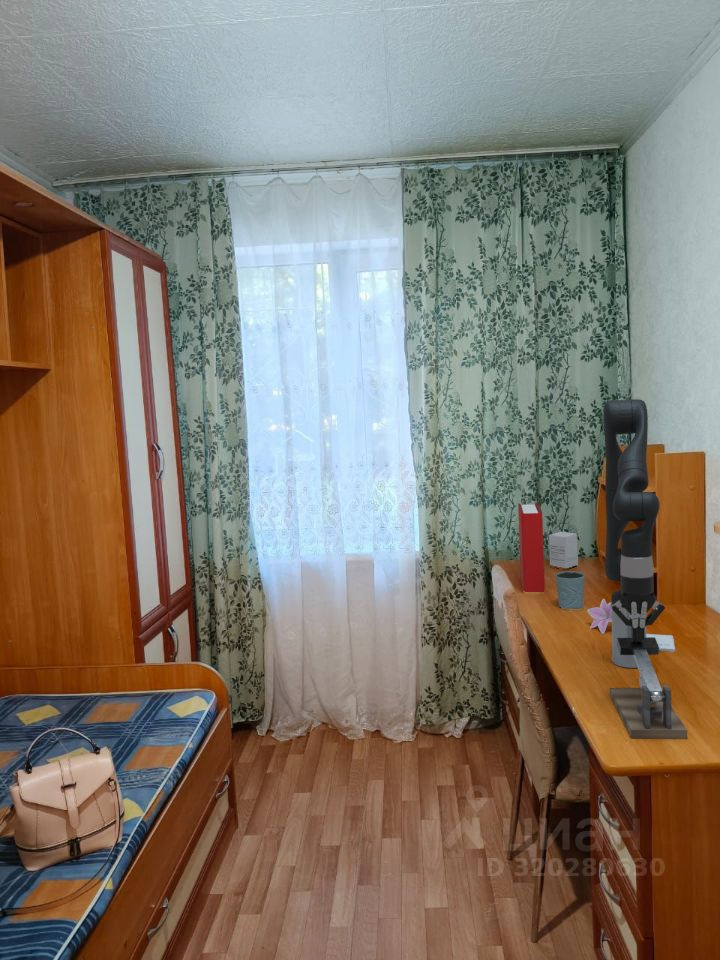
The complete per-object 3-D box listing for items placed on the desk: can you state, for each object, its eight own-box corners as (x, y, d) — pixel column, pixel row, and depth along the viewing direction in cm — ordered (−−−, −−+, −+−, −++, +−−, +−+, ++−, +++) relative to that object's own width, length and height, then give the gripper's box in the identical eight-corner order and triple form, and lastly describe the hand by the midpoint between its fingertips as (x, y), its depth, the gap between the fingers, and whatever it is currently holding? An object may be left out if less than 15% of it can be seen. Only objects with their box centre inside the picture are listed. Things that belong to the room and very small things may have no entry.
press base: (609, 695, 190) (608, 653, 189) (658, 695, 188) (657, 653, 187) (631, 738, 166) (630, 691, 165) (687, 738, 165) (686, 691, 164)
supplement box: (561, 563, 333) (560, 531, 332) (578, 566, 326) (577, 533, 325) (549, 567, 327) (548, 534, 326) (566, 570, 321) (565, 536, 319)
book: (520, 577, 314) (518, 502, 310) (539, 576, 312) (537, 502, 309) (523, 594, 287) (521, 513, 284) (545, 594, 286) (542, 512, 282)
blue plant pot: (582, 602, 272) (581, 570, 271) (588, 610, 262) (587, 577, 261) (554, 603, 273) (553, 571, 272) (558, 611, 263) (558, 578, 262)
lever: (616, 650, 186) (617, 637, 185) (653, 650, 185) (654, 637, 184) (636, 708, 167) (637, 695, 166) (677, 708, 166) (679, 695, 164)
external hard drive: (672, 640, 229) (675, 654, 218) (644, 638, 232) (645, 652, 220) (672, 635, 229) (675, 648, 217) (644, 633, 232) (645, 646, 220)
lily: (587, 625, 250) (578, 604, 246) (620, 611, 248) (611, 589, 244) (599, 647, 239) (590, 625, 235) (634, 632, 237) (625, 610, 233)
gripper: (660, 568, 183) (661, 636, 185) (605, 569, 185) (607, 636, 187) (669, 576, 176) (670, 646, 178) (612, 577, 178) (613, 647, 180)
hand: (637, 641), depth 182 cm, fingers closed
